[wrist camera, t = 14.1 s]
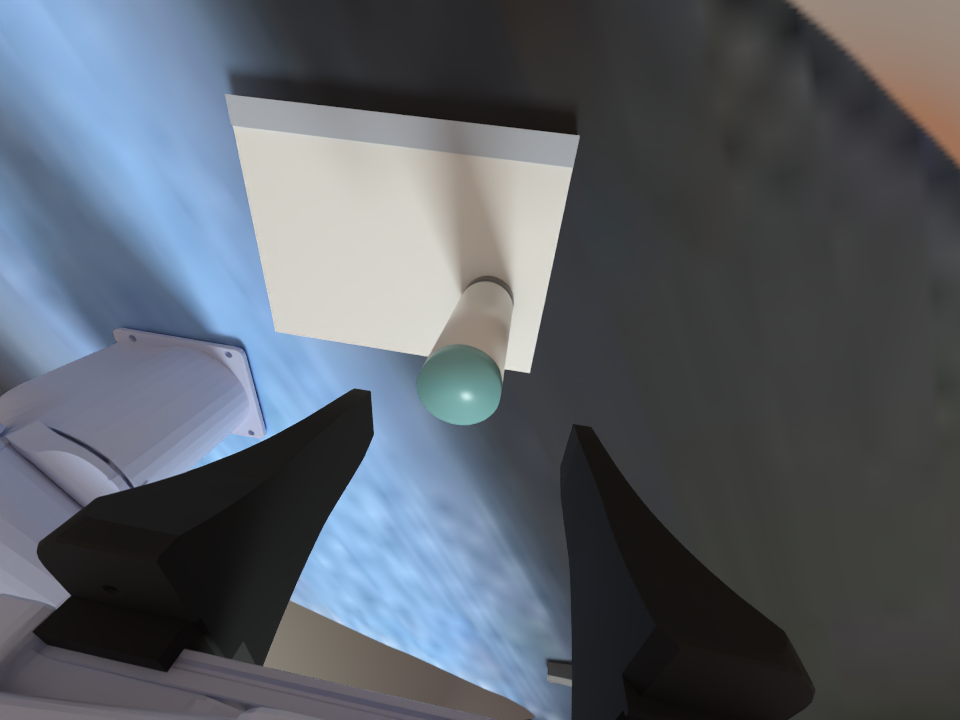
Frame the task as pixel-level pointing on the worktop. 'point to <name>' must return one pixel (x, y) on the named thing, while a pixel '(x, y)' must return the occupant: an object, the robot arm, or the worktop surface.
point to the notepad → (398, 219)
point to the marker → (469, 355)
